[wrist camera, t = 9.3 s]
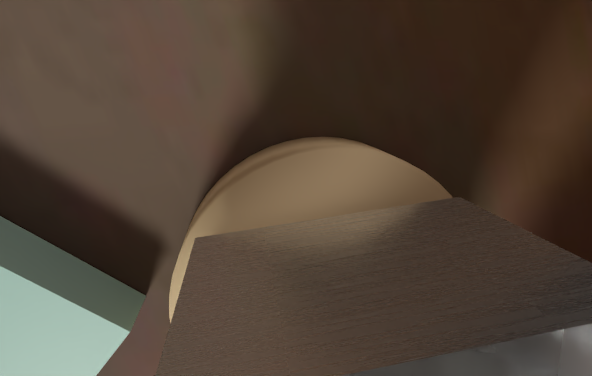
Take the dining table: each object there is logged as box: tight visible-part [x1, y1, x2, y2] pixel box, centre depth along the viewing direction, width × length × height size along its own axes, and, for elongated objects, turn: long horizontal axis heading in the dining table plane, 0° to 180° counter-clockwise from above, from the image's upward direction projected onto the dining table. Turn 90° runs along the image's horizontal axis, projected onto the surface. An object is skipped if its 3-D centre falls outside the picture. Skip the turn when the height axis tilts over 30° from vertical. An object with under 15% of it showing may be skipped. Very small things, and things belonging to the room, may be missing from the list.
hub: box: [169, 136, 453, 323], centre depth 10 cm, size 10×10×7 cm
